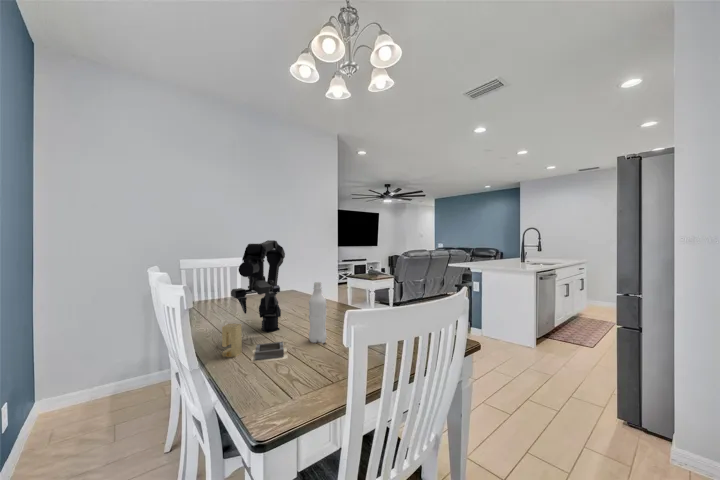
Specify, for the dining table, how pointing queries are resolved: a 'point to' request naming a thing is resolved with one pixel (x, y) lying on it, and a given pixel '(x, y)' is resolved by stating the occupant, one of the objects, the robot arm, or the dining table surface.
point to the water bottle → (317, 315)
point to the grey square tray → (269, 352)
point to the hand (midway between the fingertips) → (256, 311)
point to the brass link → (232, 340)
